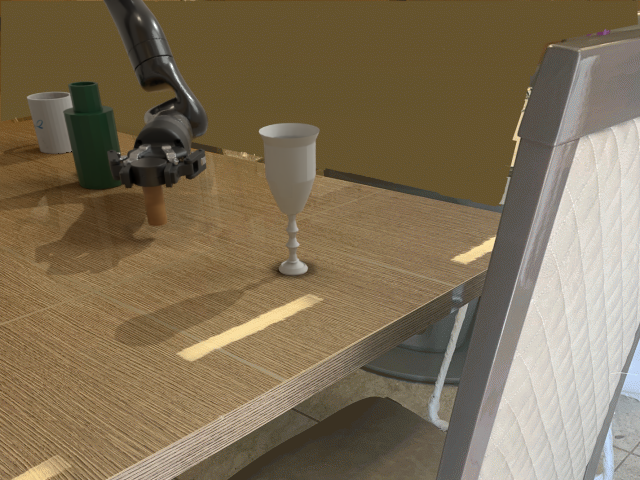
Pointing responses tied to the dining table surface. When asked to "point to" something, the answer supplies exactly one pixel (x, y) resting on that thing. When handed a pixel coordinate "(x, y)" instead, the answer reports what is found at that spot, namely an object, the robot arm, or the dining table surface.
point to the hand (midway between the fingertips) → (147, 179)
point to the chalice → (290, 177)
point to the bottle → (91, 135)
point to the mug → (50, 120)
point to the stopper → (151, 187)
